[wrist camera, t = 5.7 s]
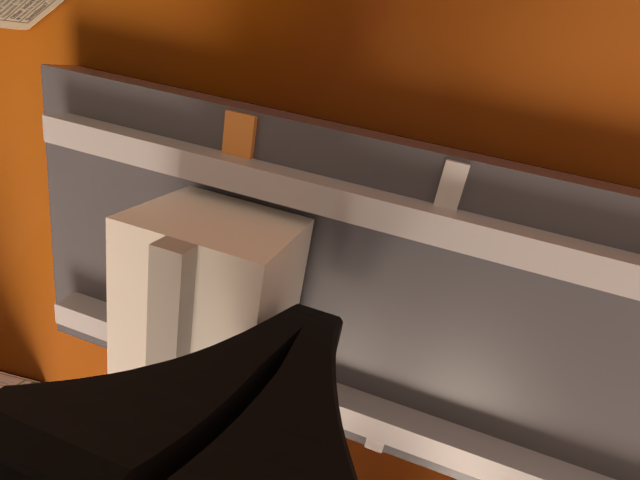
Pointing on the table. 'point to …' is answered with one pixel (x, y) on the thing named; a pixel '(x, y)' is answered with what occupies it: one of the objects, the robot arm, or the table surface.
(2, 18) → the skincare box
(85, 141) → the gray slider track
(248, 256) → the fader tab
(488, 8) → the table surface
